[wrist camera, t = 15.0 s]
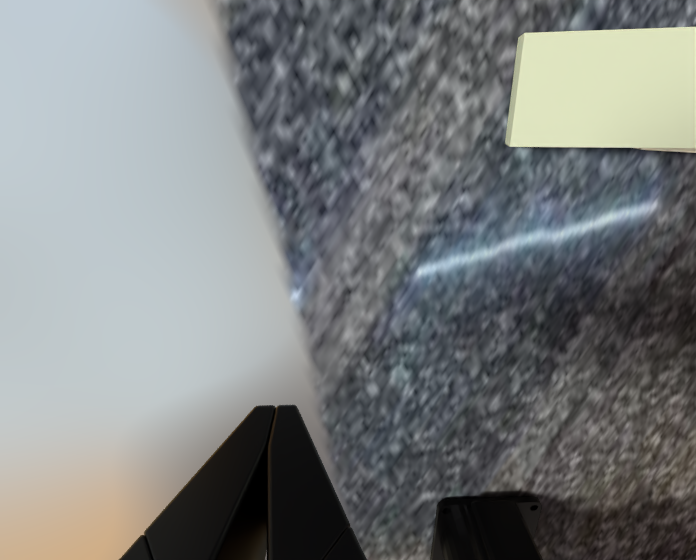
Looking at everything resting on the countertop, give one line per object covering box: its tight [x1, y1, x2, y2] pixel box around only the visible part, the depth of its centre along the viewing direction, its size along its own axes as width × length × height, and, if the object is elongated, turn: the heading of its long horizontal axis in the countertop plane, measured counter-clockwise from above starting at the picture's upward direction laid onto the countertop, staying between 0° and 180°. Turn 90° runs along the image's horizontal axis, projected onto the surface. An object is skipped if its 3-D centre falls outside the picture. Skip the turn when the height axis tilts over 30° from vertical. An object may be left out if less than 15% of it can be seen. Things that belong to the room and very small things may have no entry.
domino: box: [505, 27, 696, 148], centre depth 17 cm, size 4×1×8 cm
